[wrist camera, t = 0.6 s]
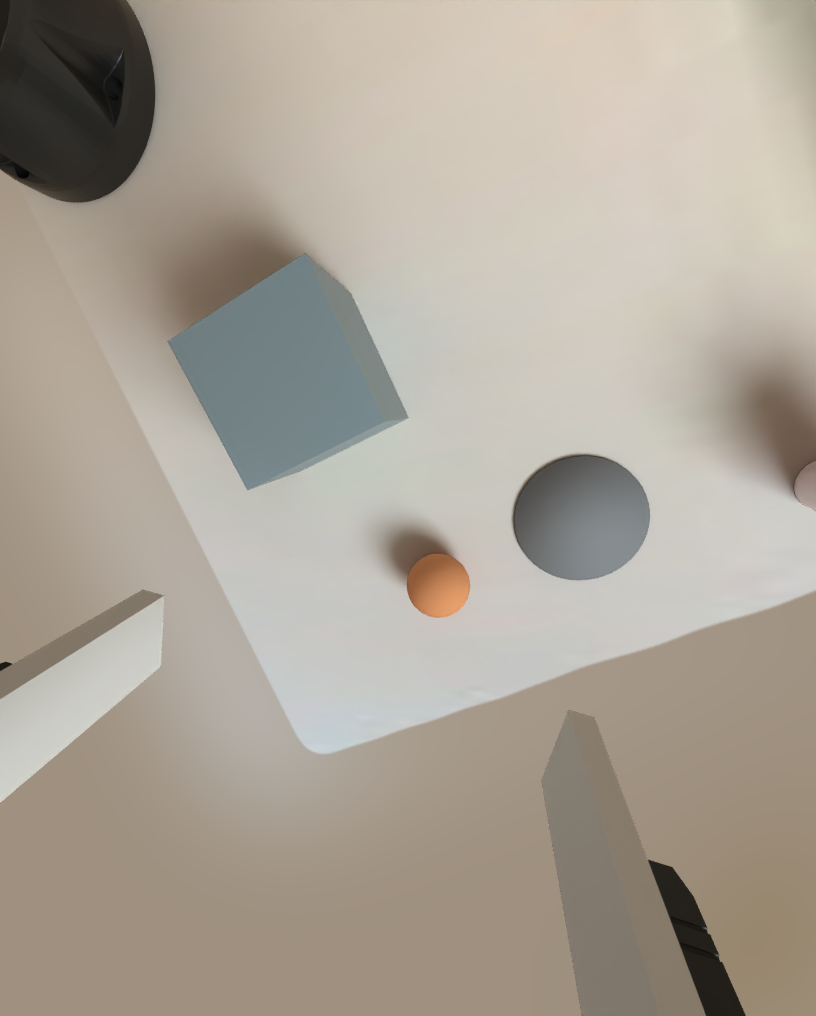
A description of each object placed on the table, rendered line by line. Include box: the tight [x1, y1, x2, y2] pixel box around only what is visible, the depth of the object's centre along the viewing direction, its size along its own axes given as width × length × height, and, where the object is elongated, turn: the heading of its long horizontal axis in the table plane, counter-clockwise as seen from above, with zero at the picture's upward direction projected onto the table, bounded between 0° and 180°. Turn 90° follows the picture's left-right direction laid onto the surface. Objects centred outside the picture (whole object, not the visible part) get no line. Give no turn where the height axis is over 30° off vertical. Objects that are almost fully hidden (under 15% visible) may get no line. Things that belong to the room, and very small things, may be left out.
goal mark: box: [514, 456, 650, 580], centre depth 33 cm, size 10×10×1 cm
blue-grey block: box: [168, 253, 408, 490], centre depth 30 cm, size 10×10×9 cm
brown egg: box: [407, 554, 470, 618], centre depth 34 cm, size 5×5×5 cm
